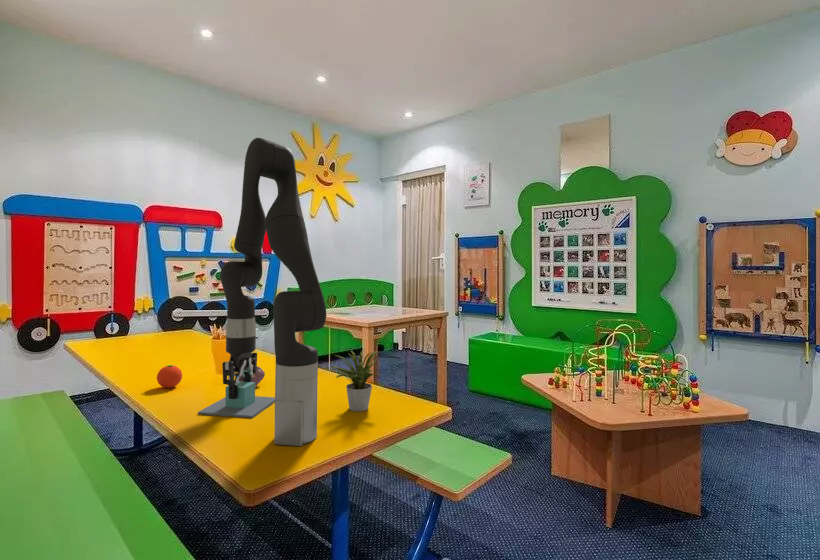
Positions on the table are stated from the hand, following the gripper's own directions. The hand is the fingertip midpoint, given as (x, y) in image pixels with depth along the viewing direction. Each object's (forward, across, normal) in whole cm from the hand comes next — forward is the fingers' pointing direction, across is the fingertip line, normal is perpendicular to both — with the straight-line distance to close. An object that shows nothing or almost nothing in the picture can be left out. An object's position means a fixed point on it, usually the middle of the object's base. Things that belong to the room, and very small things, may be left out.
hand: (240, 394), depth 114 cm
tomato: (+4, +13, +31) cm, 34 cm away
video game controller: (+4, +21, +8) cm, 23 cm away
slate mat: (+3, 0, 0) cm, 3 cm away
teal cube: (+3, 0, 0) cm, 3 cm away
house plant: (+4, +6, -32) cm, 33 cm away
